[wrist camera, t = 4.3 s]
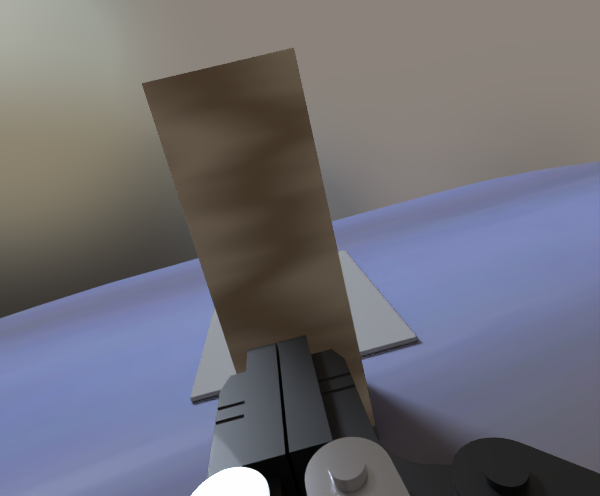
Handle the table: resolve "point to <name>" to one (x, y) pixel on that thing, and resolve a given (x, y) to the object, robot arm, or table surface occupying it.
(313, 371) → the robot arm
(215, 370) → the grey mat
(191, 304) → the table surface
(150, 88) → the birch block
